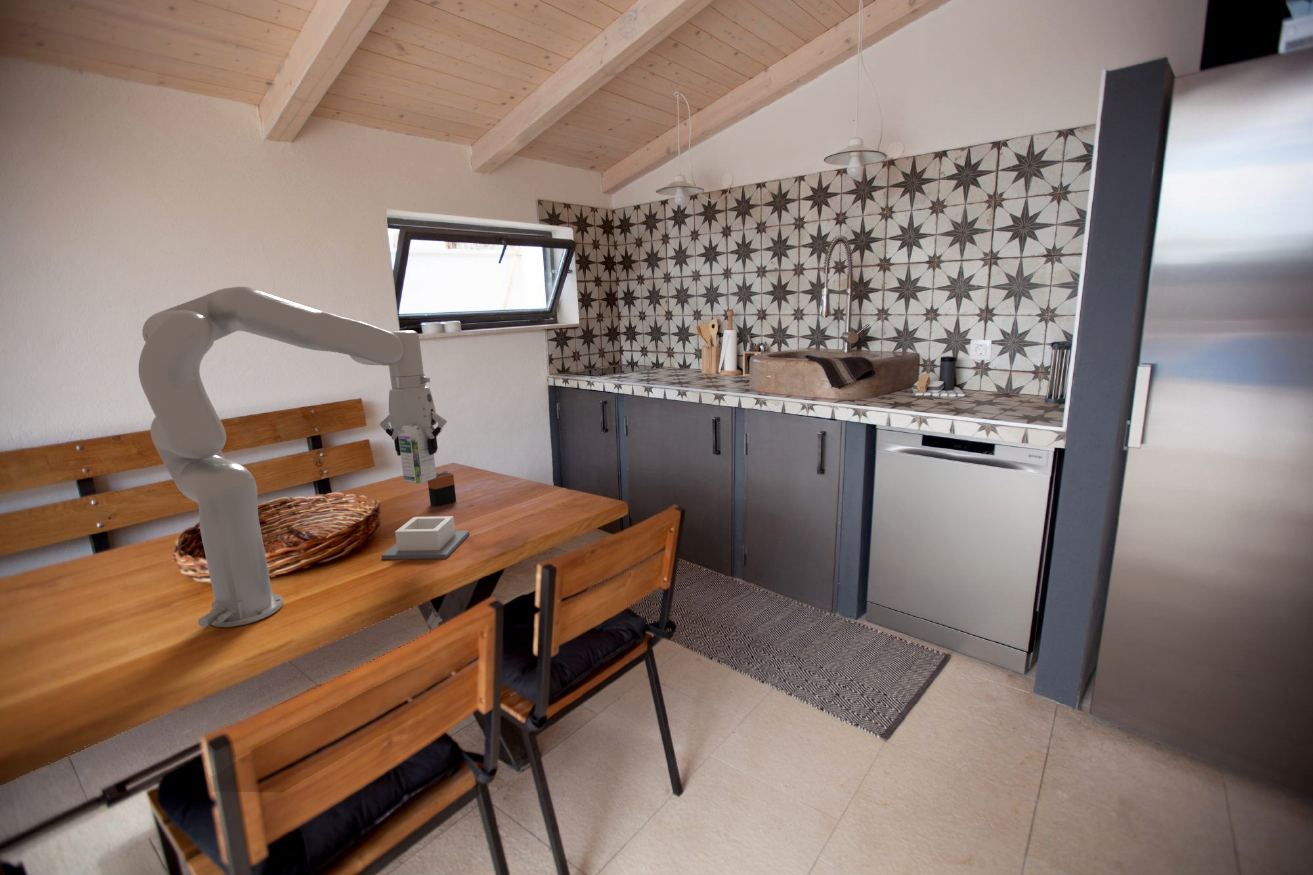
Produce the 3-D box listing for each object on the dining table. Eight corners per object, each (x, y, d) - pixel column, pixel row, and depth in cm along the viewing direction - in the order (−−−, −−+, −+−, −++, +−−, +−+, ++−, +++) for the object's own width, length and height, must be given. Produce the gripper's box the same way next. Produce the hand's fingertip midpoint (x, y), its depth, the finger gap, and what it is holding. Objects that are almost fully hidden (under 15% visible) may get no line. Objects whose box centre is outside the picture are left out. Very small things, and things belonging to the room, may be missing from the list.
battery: (429, 504, 189) (426, 473, 187) (449, 499, 194) (446, 468, 192) (436, 507, 186) (433, 475, 184) (457, 501, 191) (453, 470, 189)
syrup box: (402, 481, 150) (395, 424, 147) (421, 475, 156) (414, 420, 152) (419, 484, 148) (411, 425, 145) (437, 477, 153) (431, 421, 150)
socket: (446, 558, 147) (443, 534, 146) (382, 559, 148) (378, 535, 147) (469, 533, 163) (467, 512, 161) (411, 534, 163) (408, 513, 162)
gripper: (449, 379, 150) (457, 449, 153) (380, 381, 151) (390, 451, 154) (437, 383, 142) (445, 456, 146) (365, 386, 143) (375, 458, 147)
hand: (417, 453), depth 150 cm, fingers closed on syrup box, 7 cm apart
